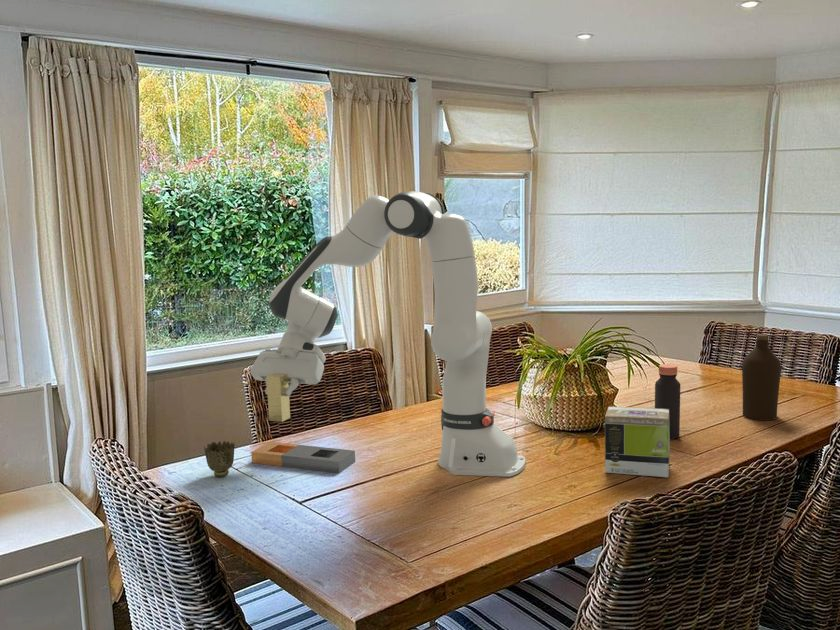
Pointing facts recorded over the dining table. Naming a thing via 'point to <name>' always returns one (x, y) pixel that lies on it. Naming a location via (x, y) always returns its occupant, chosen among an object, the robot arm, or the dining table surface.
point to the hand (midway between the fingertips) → (277, 394)
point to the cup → (220, 457)
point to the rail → (303, 457)
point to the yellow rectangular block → (278, 397)
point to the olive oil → (761, 381)
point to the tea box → (637, 441)
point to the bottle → (669, 396)
